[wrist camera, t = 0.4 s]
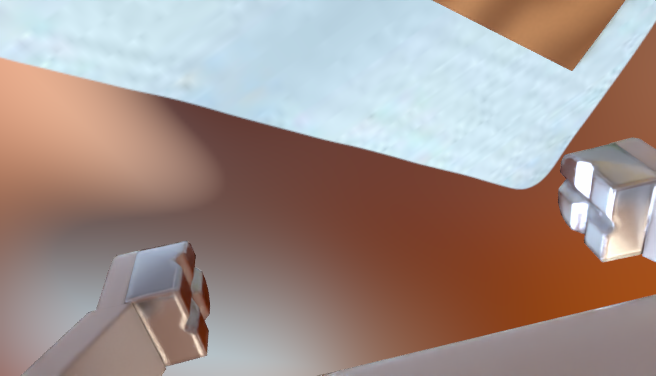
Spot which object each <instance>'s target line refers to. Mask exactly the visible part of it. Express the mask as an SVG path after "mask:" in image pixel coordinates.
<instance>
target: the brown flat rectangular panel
mask: <svg viewBox="0 0 656 376" xmlns="http://www.w3.org/2000/svg"><path fill="white" fill-rule="evenodd" d="M433 1H435V2H437V3H439V4H441V5H443V6H445V7H447V8H449V9H451V10H452V11H454V12H456V13H458V14H460V15H462V16H464V17H466V18H468V19H470V20H472V21H474V22H476V23H478V24H480V25H482V26H484V27H486V28H488V29H490V30H492V31H494V32H496V33H498V34H500V35H502V36H504V37H506V38H508V39H510V40H512V41H514V42H516V43H518V44H520V45H521V46H523V47H525V48H527V49H529V50H531V51H533V52H535V53H537V54H539V55H541V56H543V57H545V58H547V59H549V60H551V61H553V62H555V63H557V64H559V65H561V66H563V67H565V68H567V69H569V70H571V71H573V69H574V68H575V67H576V65H577V64H578V63H579V61H580V60H581V59H582V57H583V56H584V55H585V53H586V52H587V51H588V49H589V48H590V47H591V45H592V44H593V43H594V41H595V40H596V39H597V37H598V36H599V35H600V33H601V32H602V31H603V29H604V28H605V27H606V25H607V24H608V23H609V21H610V20H611V19H612V17H613V16H614V15H615V13H616V12H617V11H618V9H619V8H620V7H621V5H622V4H623V3H624V1H625V0H433Z"/></svg>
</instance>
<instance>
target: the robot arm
mask: <svg viewBox="0 0 656 376" xmlns="http://www.w3.org/2000/svg"><path fill="white" fill-rule="evenodd" d="M560 172H561V173H562V175H563V176H564V177H565V178H566V180H565V181H564V183H563V184H562V185H561V187H560V188H559V192H558V204H559V208H560V212H561V215H562V217H563V219H564V220H565V222H566V223H567V225H568V226H569V227H570V228H571V229H572V230H575V231H577V232H580V233H582V234H585V237H584V243H585V244H586V245H587V246H588V247H589V248H590V250H592V252H594V254H595V255H596V256H597V257H598V258H599V259H600V260H601V261H602V262H606V261H611V260H616V259H620V258H625V257H630V256H635V255H640V254H643V256H644V257H646V258H648V259H650V260H653V261H655V262H656V149H654V148H653V147H651V146H650V145H648V144H647V143H645V142H644V141H642V140H641V139H638V138H629V139H625V140H621V141H618V142H614V143H610V144H608V145H604V146H600V147H596V148H592V149H588V150H583V151H579V152H575V153H571V154H567V155H564V157H563V159H562V161H561V169H560ZM195 258H196V255H195V253H194V251H193V248H192V246H191V244H190V243H189V242H188V241H182V242H177V243H173V244H168V245H163V246H158V247H154V248H148V249H144V250H140V251H134V252H130V253H125V254H121V255H117V256H116V257H114V258H113V259H112V262H111V265H110V268H109V271H108V274H107V277H106V281H105V284H104V286H103V290H102V293H101V296H100V299H99V302H98V305H97V308H96V310H95V311H91V312H88V313H87V314H86V315H85V316H84V317H83V318H82V319H81V320H80V321H79V322H77V323H76V324H75V325H74V326H73V327H72V328H71V329H70V330H69V331H68V332H67V333H66V334H65V335H64V336H62V337H61V338H60V339H59V340H58V341H57V342H56V343H55V344H54V345H53V346H52V347H51V348H50V349H49V350H47V351H46V352H45V353H44V354H43V355H42V356H41V357H40V358H39V359H38V360H37V361H36V362H35V363H34V364H33V365H31V366H30V367H29V368H28V369H27V370H26V371H25V372H24V373H23V374H22V375H21V376H162V374H163V373H164V371H165V370H166V368H165V367H166V366H170V365H174V364H177V363H181V362H185V361H189V360H193V359H196V358H200V357H204V356H207V346H208V332H209V330H208V328H207V325H206V323H205V319H206V318H207V317H208V316H209V314H210V300H209V292H208V287H207V284H206V280H205V278H204V275H203V272H202V271H200V270H199V269H197V268H195ZM319 376H656V295H652V296H648V297H644V298H640V299H635V300H631V301H627V302H623V303H619V304H615V305H611V306H606V307H602V308H598V309H594V310H590V311H585V312H581V313H577V314H573V315H569V316H564V317H560V318H556V319H552V320H548V321H543V322H539V323H535V324H531V325H526V326H522V327H519V328H514V329H510V330H506V331H501V332H497V333H493V334H489V335H485V336H481V337H477V338H473V339H468V340H464V341H460V342H456V343H452V344H448V345H443V346H439V347H435V348H431V349H427V350H423V351H419V352H414V353H410V354H406V355H402V356H398V357H394V358H390V359H385V360H381V361H377V362H373V363H369V364H365V365H361V366H356V367H352V368H348V369H344V370H339V371H335V372H331V373H327V374H323V375H319Z"/></svg>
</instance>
